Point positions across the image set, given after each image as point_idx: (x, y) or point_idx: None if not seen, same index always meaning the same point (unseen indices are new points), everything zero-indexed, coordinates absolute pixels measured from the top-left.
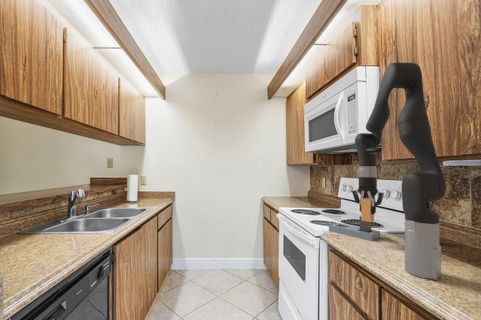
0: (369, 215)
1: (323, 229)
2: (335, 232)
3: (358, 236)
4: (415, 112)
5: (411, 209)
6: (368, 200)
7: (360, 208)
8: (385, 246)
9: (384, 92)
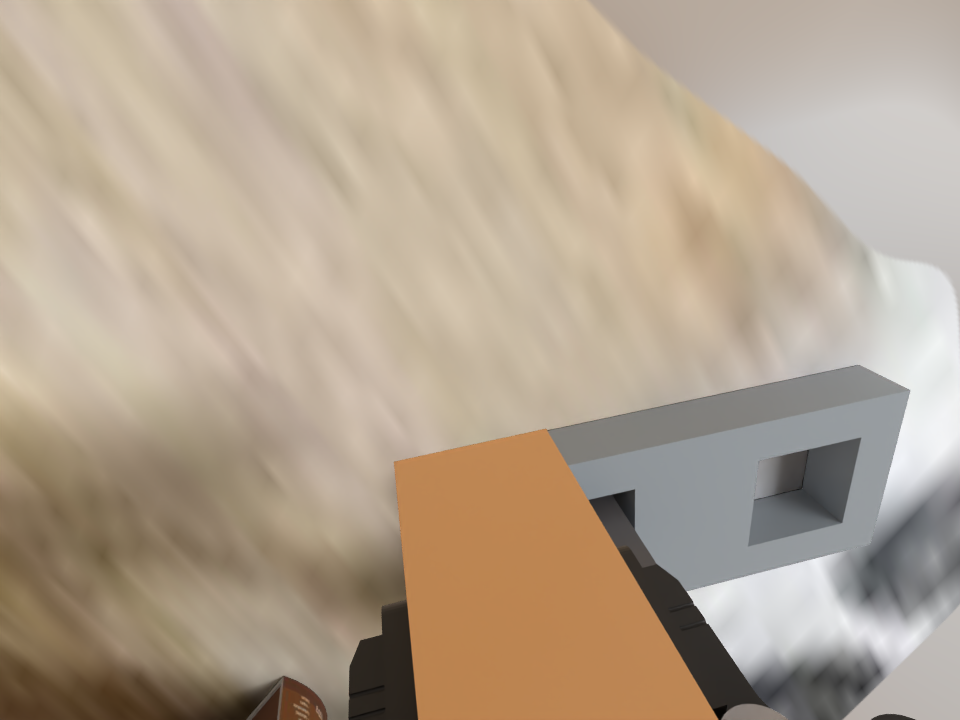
0: (420, 536)
1: (914, 361)
2: (795, 378)
3: (583, 431)
4: None
5: None
6: None
7: (685, 623)
8: (290, 417)
9: None
